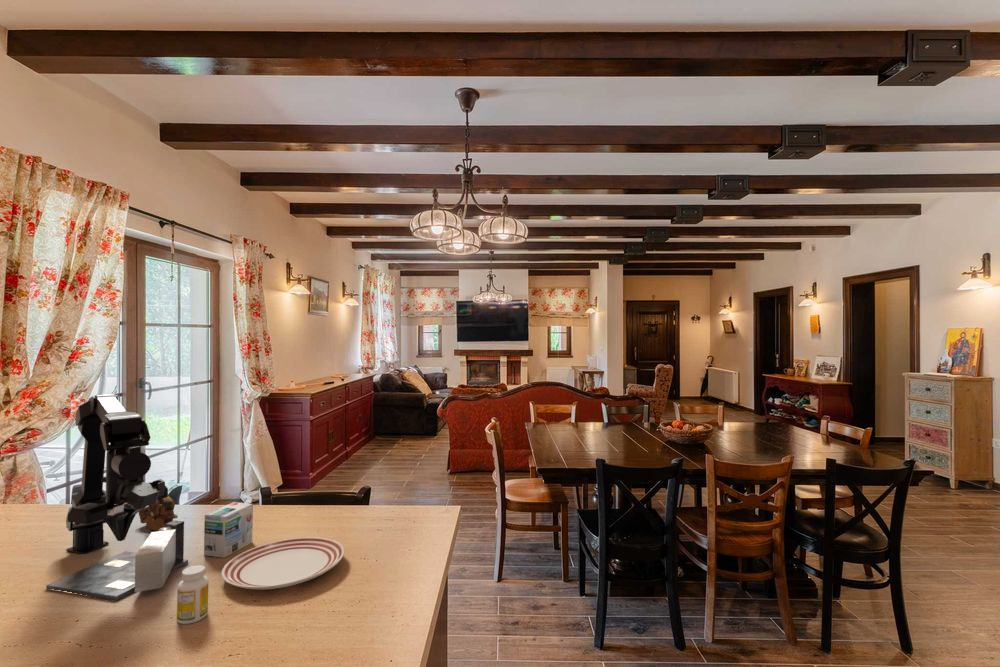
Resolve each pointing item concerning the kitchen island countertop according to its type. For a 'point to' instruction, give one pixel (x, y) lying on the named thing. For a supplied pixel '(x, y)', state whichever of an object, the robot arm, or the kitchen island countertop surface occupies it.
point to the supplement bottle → (192, 595)
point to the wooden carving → (158, 514)
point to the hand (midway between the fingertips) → (121, 540)
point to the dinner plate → (283, 563)
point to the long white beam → (155, 559)
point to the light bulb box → (228, 529)
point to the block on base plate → (115, 573)
